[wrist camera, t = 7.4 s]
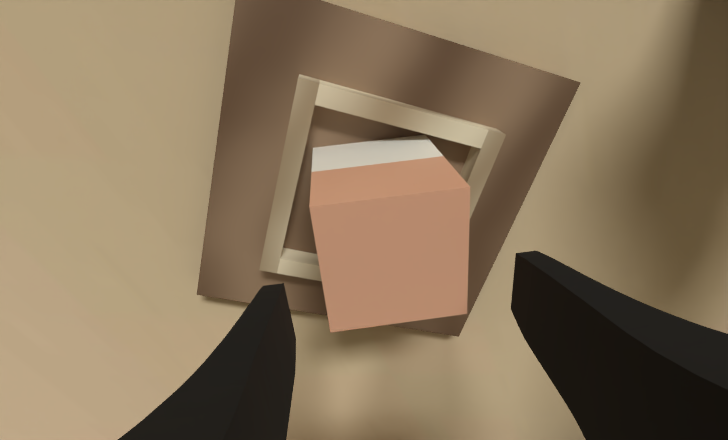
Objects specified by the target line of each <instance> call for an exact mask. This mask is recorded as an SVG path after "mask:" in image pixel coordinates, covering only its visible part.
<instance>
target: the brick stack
mask: <svg viewBox="0 0 728 440" xmlns="http://www.w3.org/2000/svg"><path fill="white" fill-rule="evenodd" d="M309 208H310V214H311V220H312V226H313V232H314V238H315V244H316V250H317V256H318V262H319V267H320V273H321V279H322V285H323V291H324V297H325V303H326V309H327V315H328V321H329V327H330V332H338V331H345V330H352V329H360V328H367V327H374V326H381V325H389V324H396V323H403V322H411V321H418V320H425V319H433V318H440V317H447V316H455V315H462V314H467V297H468V260H469V222H470V186H469V185H468V184H467V183H466V181H465V180H464V179H463V178H462V177H461V176H460V174H459V173H458V172H457V171H456V170H455V169H454V168H453V166H452V165H451V164H450V163H449V162H448V161H447V159H446V158H445V157H444V156H443V155H442V154H441V153H440V151H439V150H438V149H437V148H436V147H435V146H434V144H433V143H432V142H431V141H430V140H429V139H428V138H427V136H426V135H417V136H409V137H400V138H392V139H383V140H375V141H366V142H358V143H349V144H341V145H332V146H324V147H315V148H313V154H312V170H311V187H310V203H309Z"/></svg>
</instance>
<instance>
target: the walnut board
mask: <svg viewBox="0 0 728 440" xmlns="http://www.w3.org/2000/svg"><path fill="white" fill-rule="evenodd" d="M579 85H580V82H577V81H574V80H571V79H568V78H564V77H561V76H558V75H555V74H552V73H549V72H545V71H542V70H539V69H536V68H533V67H530V66H526V65H523V64H520V63H517V62H514V61H511V60H508V59H504V58H501V57H498V56H495V55H492V54H489V53H485V52H482V51H479V50H476V49H473V48H470V47H466V46H463V45H460V44H457V43H454V42H451V41H448V40H444V39H441V38H438V37H435V36H432V35H429V34H425V33H422V32H419V31H416V30H413V29H410V28H407V27H403V26H400V25H397V24H394V23H391V22H388V21H384V20H381V19H378V18H375V17H372V16H369V15H365V14H362V13H359V12H356V11H353V10H350V9H347V8H343V7H340V6H337V5H334V4H331V3H328V2H324V1H321V0H235V8H234V16H233V23H232V31H231V38H230V46H229V54H228V61H227V69H226V76H225V84H224V92H223V99H222V107H221V114H220V122H219V130H218V137H217V145H216V153H215V160H214V168H213V175H212V183H211V191H210V198H209V206H208V213H207V221H206V229H205V236H204V244H203V251H202V259H201V267H200V274H199V282H198V290H197V295H203V296H209V297H215V298H221V299H228V300H234V301H240V302H246V303H251V301H252V300H253V298H254V297H255V295H256V294H257V292H258V291H259V290H260V288H261V287H262V286H265V285H273V284H281V283H284V286H285V291H286V295H287V300H288V304H289V309H290V310H296V311H303V312H309V313H315V314H321V315H327V309H326V303H325V297H324V291H323V285H322V279H321V273H320V267H319V262H318V256H317V250H316V244H315V238H314V232H313V226H312V220H311V214H310V208H309V203H310V187H311V170H312V154H313V148H315V147H324V146H332V145H341V144H349V143H358V142H366V141H375V140H383V139H392V138H400V137H409V136H417V135H426V136H427V138H428V139H429V140H430V141H431V142H432V143H433V144H434V146H435V147H436V148H437V149H438V150H439V151H440V153H441V154H442V155H443V156H444V157H445V158H446V159H447V161H448V162H449V163H450V164H451V165H452V166H453V168H454V169H455V170H456V171H457V172H458V173H459V174H460V176H461V177H462V178H463V179H464V180H465V181H466V183H467V184H468V185H469V186H470V222H469V260H468V297H467V314H462V315H455V316H447V317H440V318H433V319H425V320H418V321H411V322H403V323H396V324H389V325H390V326H396V327H403V328H409V329H415V330H421V331H428V332H434V333H440V334H446V335H453V336H459V335H460V333H461V331H462V328H463V326H464V324H465V322H466V320H467V318H468V316H469V314H470V312H471V310H472V308H473V306H474V303H475V301H476V299H477V297H478V295H479V293H480V291H481V289H482V287H483V285H484V283H485V281H486V278H487V276H488V274H489V272H490V270H491V268H492V266H493V264H494V262H495V260H496V258H497V256H498V253H499V251H500V249H501V247H502V245H503V243H504V241H505V239H506V237H507V235H508V233H509V231H510V228H511V226H512V224H513V222H514V220H515V218H516V216H517V214H518V212H519V210H520V208H521V206H522V203H523V201H524V199H525V197H526V195H527V193H528V191H529V189H530V187H531V185H532V183H533V181H534V178H535V176H536V174H537V172H538V170H539V168H540V166H541V164H542V162H543V160H544V158H545V156H546V154H547V151H548V149H549V147H550V145H551V143H552V141H553V139H554V137H555V135H556V133H557V131H558V129H559V126H560V124H561V122H562V120H563V118H564V116H565V114H566V112H567V110H568V108H569V106H570V104H571V101H572V99H573V97H574V95H575V93H576V91H577V89H578V87H579Z"/></svg>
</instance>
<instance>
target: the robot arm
mask: <svg viewBox="0 0 728 440" xmlns="http://www.w3.org/2000/svg"><path fill="white" fill-rule="evenodd" d="M511 310H512V312H513V315H514V317H515V319H516V321H517V324H518V326H519V328H520V330H521V332H522V334H523V336H524V338H525V340H526V342H527V343H528V345H529V347H530V348H531V350H532V351H533V353H534V354H535V356H536V358H537V359H538V361H539V362H540V364H541V365H542V367H543V369H544V370H545V372H546V373H547V375H548V376H549V378H550V379H551V381H552V382H553V384H554V386H555V387H556V389H557V390H558V392H559V393H560V395H561V396H562V398H563V400H564V401H565V403H566V404H567V406H568V408H569V409H570V411H571V413H572V414H573V416H574V418H575V420H576V421H577V423H578V425H579V427H580V429H581V431H582V433H583V435H584V437H585V439H586V440H728V334H726V333H723V332H720V331H716V330H713V329H710V328H707V327H704V326H701V325H698V324H695V323H692V322H690V321H687V320H684V319H682V318H679V317H676V316H674V315H671V314H669V313H666V312H663V311H661V310H658V309H656V308H653V307H651V306H649V305H646V304H644V303H642V302H639V301H637V300H635V299H633V298H631V297H628V296H626V295H624V294H622V293H620V292H617V291H615V290H613V289H611V288H609V287H607V286H605V285H603V284H601V283H599V282H597V281H595V280H593V279H591V278H589V277H587V276H585V275H584V274H582V273H580V272H578V271H576V270H574V269H572V268H570V267H568V266H566V265H564V264H563V263H561V262H559V261H557V260H555V259H553V258H551V257H549V256H547V255H545V254H543V253H540V252H538V251H530V252H523V253H516V258H515V269H514V280H513V291H512V302H511ZM295 362H296V337H295V332H294V327H293V323H292V318H291V314H290V309H289V304H288V300H287V295H286V291H285V286H284V283H281V284H273V285H265V286H262V287H261V288H260V290H259V291H258V292H257V294H256V295H255V297H254V298H253V300H252V301H251V303H250V304H249V305H248V307H247V308H246V310H245V311H244V312H243V314H242V315H241V317H240V318H239V319H238V321H237V322H236V323H235V325H234V326H233V327H232V329H231V330H230V331H229V333H228V334H227V335H226V337H225V338H224V339H223V340H222V342H221V343H220V344H219V345H218V346H217V347H216V349H215V350H214V351H213V352H212V353H211V355H210V356H209V357H208V358H207V359H206V361H205V362H204V363H203V364H202V365H201V366H200V367H199V368H198V369H197V370H196V372H195V373H194V374H193V375H192V376H191V377H190V378H189V379H188V380H187V381H186V382H185V383H184V384H183V385H182V386H181V387H180V388H178V389H177V390H176V391H175V392H174V393H173V394H172V395H171V396H170V397H169V398H167V399H166V400H165V401H164V402H163V403H162V404H161V405H159V406H158V407H157V408H156V409H155V410H154V411H153V412H151V413H150V414H149V415H148V416H147V417H146V418H145V419H143V420H142V421H141V422H140V423H139V424H137V425H136V426H135V427H133V428H132V429H131V430H130V431H128V432H127V433H126V434H125V435H123V436H122V437H121V438H119V439H118V440H286V436H287V429H288V422H289V414H290V407H291V400H292V392H293V385H294V377H295Z"/></svg>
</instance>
